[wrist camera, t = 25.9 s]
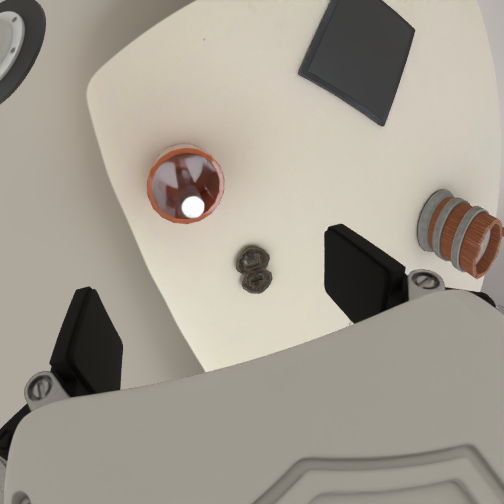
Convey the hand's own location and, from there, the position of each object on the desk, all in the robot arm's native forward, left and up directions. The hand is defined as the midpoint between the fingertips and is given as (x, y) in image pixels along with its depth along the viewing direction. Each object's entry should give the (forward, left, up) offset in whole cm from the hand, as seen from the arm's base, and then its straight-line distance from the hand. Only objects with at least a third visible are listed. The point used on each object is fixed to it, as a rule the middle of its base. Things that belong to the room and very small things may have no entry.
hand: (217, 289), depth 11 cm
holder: (0, 0, -26) cm, 26 cm away
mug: (+52, +11, -26) cm, 59 cm away
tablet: (+17, +29, -26) cm, 43 cm away
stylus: (0, 0, -26) cm, 26 cm away
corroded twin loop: (+14, -10, -26) cm, 31 cm away
